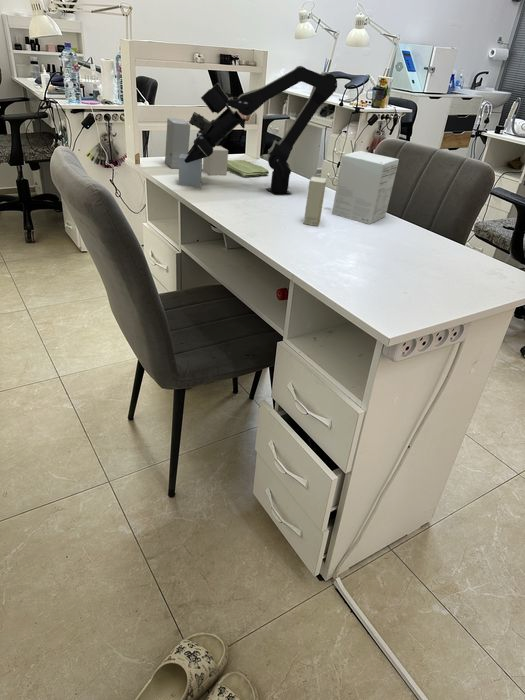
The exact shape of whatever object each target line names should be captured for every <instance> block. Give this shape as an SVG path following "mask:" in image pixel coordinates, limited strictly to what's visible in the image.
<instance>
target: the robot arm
mask: <svg viewBox="0 0 525 700" xmlns="http://www.w3.org/2000/svg"><path fill="white" fill-rule="evenodd" d="M301 82H302V83H304V84H307V85H309V86H312V89H311V91H310V94H309V97H308V99H307V101H306V102H305V104H304V105H303V107H302V108H301V110H300V112H299V113H298V115H297V116H296V118H295V119H294V121H293V122H292V124H291V125H290V127H289V128H288V130H287V132H285V134H284V136H283V137H282V138H281V139H280V140H279V141H277V140H276V139H274V140H273V142H272V145H271V146H270V148H268V149H267V163H268V165H269V167H270V168H271V169H272V170H273V171H272V172H271V181H270V187H267V188H266V190H267V191H268V192H270V193H271V194H273V195H276V196H277V195H279V196H280V195H292V192H290V191H289V190H288V189H289V184H290V183H289V182H290V175H291V173H292V169H291V166H290V164H289V162H288V160H289V158H290V154H291V152H292V149H293V146H294V145H295V144H296V142H297V141H298V139H299V138H300V136H302V135H301V134H302V133H303V132H304V131H305V129H306V127H307V125H308V124H309V123H310V121H311V120H312V119H313V117H314V115H315V114H316V112H317V110H319V108H320V107H321V106H322V105H323V104H324V103H325V102H327V100H329V98H331V96H332V95H333V94H334V93H335V92H336V90H337V89H338V80H337V78H336V76H334V75H333V74H332V73H329V72H322V73H319V72H317V71H313V70H311V69H307V68H305V67H304V66H303V65H298V66H296V67H295V68H294V69H292V70H291V71H289V72H287V73H285V74H283V75H282V76H280V77H278V78H276V79H274V80H273V81H271V82H269V83H268V84H265V85H264V86H263V87H260V88H257V89H256V88H255V89H253V90H252V89H251V90H250V91H247V92H244V93H243V92H242V94H240V95H239V96H237V97H236V96H231V97H229V96H228V95H227V94H226V92H225V91H224V90H223V88H222V86H221V84H220V83H219V82H217V83H216V84H215V85H213V86H212V87H211V88H210V89H208V90H207V91H206V92H204V94H203V95H202V96H201V97H200V99H201V100H202V101H203V103H204V104H205V106H207V109H209V110H210V112H211V113H212V114H214V113H215V114H217V115H218V116H217V117H216V118H215V119H212V120H211V121H210V120H208V119H207V118H206V117H204V115H201V113H197V112H196V111H194V112H193V113H192V116H191V117H190V119H189V121H188V123H189V124H190V126H194V127H196V128H197V129H199V130H198V132H197V133H196V137H195V139H194V141H193V145H192V146H191V147H190V149H189V150H188V153H187V154H189V155H188V156H187V157H186V159H185V160H184V161H185V162H186V163H189V162H192V161H195V160H198V159H202V160H203V158H205V157H209V156H210V155H211V154H212V153H213V147H215V146H217V145H218V144H219V143H220V141H222V140H223V139H226V138H227V135H229V134H230V133H231V132H232V131H233V130H234V129H235V128H236V127H238V125H240V127H241V128H242V129H245V125H246V120H247V119H246V116H251V115H252V114H253V113H255V112H256V111H257V110H258V109H259V108H261V106H263V105H264V104H265V103H266V102H267V101H268V100H270V99H272V98H274V97H275V96H278V95H279V94H281V93H283V92H285V91H286V90H289V89H290V88H292V87H293V86H295V85H297V84H299V83H301ZM225 108H226V109H225ZM224 109H225V110H224ZM233 109H235V111H233ZM223 110H224V111H223ZM222 111H223V112H222ZM219 113H220V115H219ZM240 114H241V115H242V116H245V117H242V116H241V115H240Z"/></svg>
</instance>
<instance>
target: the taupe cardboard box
mask: <svg viewBox="0 0 525 700" xmlns="http://www.w3.org/2000/svg"><path fill="white" fill-rule="evenodd" d="M228 157H229V150H228V149H227V148H225V147H223V146H222V145H216V146H215V147H213V153H212V154H211V155H210V156H209V157H205V158H202V172H204V173H205V174H207V175H208V176H227V175H228V174H227V173H228V171H227V161H228V160H229V158H228Z"/></svg>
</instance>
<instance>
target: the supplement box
mask: <svg viewBox="0 0 525 700" xmlns="http://www.w3.org/2000/svg"><path fill="white" fill-rule="evenodd" d="M399 160H400V159H399V158H395V157H391V156H385V155H382V154H381V155H380V154H376V153H371V152H367V151H364V150H357V151H354V152H349V153H346V154H342V155H341V163H340V167H339V173H338V179H337V184H336V188H335V194H334V195H335V196H334V200H333V205H332V210H331V214H333V215H336V216H339V217H344V218H346V219H350V220H353V221H357V222H359V223H360V222H361V223H363V224H367V225H371V224H372V223H375V222H376V221H379V220H380V219H382V218H384V217H386V215H387V212H388V206H389V203H390V200H391V195H392V191H393V186H394V183H395V179H396V174H397V170H398V166H399Z"/></svg>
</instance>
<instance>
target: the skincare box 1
mask: <svg viewBox="0 0 525 700" xmlns="http://www.w3.org/2000/svg"><path fill="white" fill-rule="evenodd" d="M190 134H191V124H190V123H189V121H187V120H185V119H182V118H173V117H167V123H166V137H165V152H164V153H165V155H164V162H165V164H166V165H167V166H168V167H169V168H170V169H179V157H180V155H181V154H187V153H188V152H189V151H190V149H189V147H190Z"/></svg>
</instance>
